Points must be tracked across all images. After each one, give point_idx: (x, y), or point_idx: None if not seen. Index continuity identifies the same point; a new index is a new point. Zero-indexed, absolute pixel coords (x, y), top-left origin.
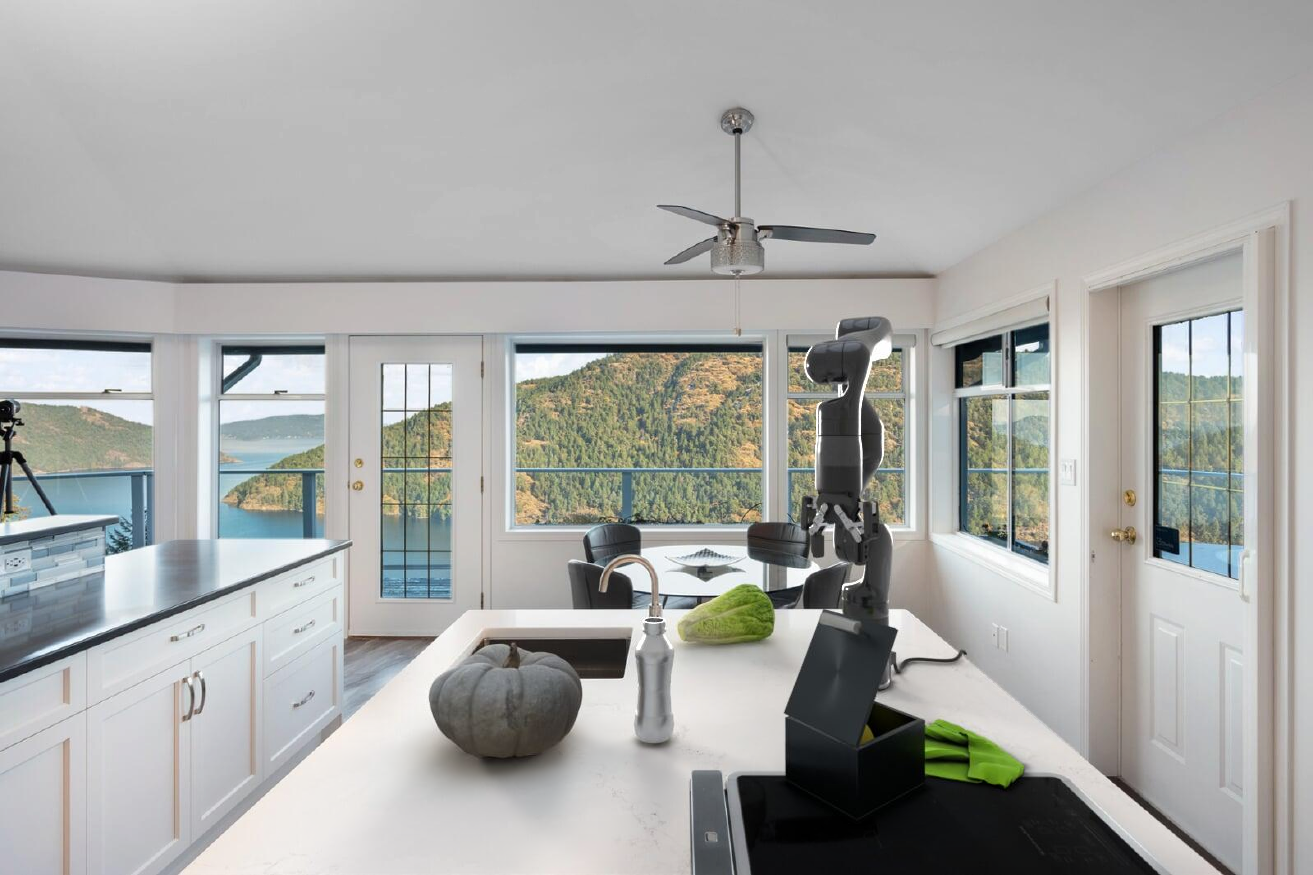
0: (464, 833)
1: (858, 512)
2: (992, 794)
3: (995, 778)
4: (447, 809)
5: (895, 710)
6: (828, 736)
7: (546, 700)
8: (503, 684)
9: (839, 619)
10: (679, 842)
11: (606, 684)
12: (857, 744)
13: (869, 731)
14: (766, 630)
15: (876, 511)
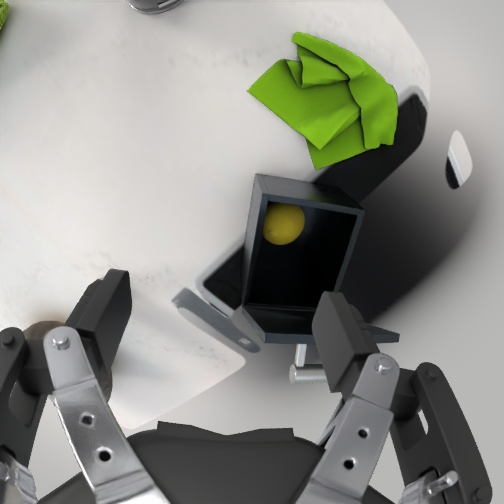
0: (158, 397)
1: (377, 496)
2: (384, 158)
3: (386, 140)
4: (133, 393)
5: (331, 209)
6: (298, 310)
7: (105, 393)
8: None
9: (327, 382)
10: (234, 354)
11: (5, 242)
12: None
13: (301, 223)
14: (2, 15)
15: (469, 468)
